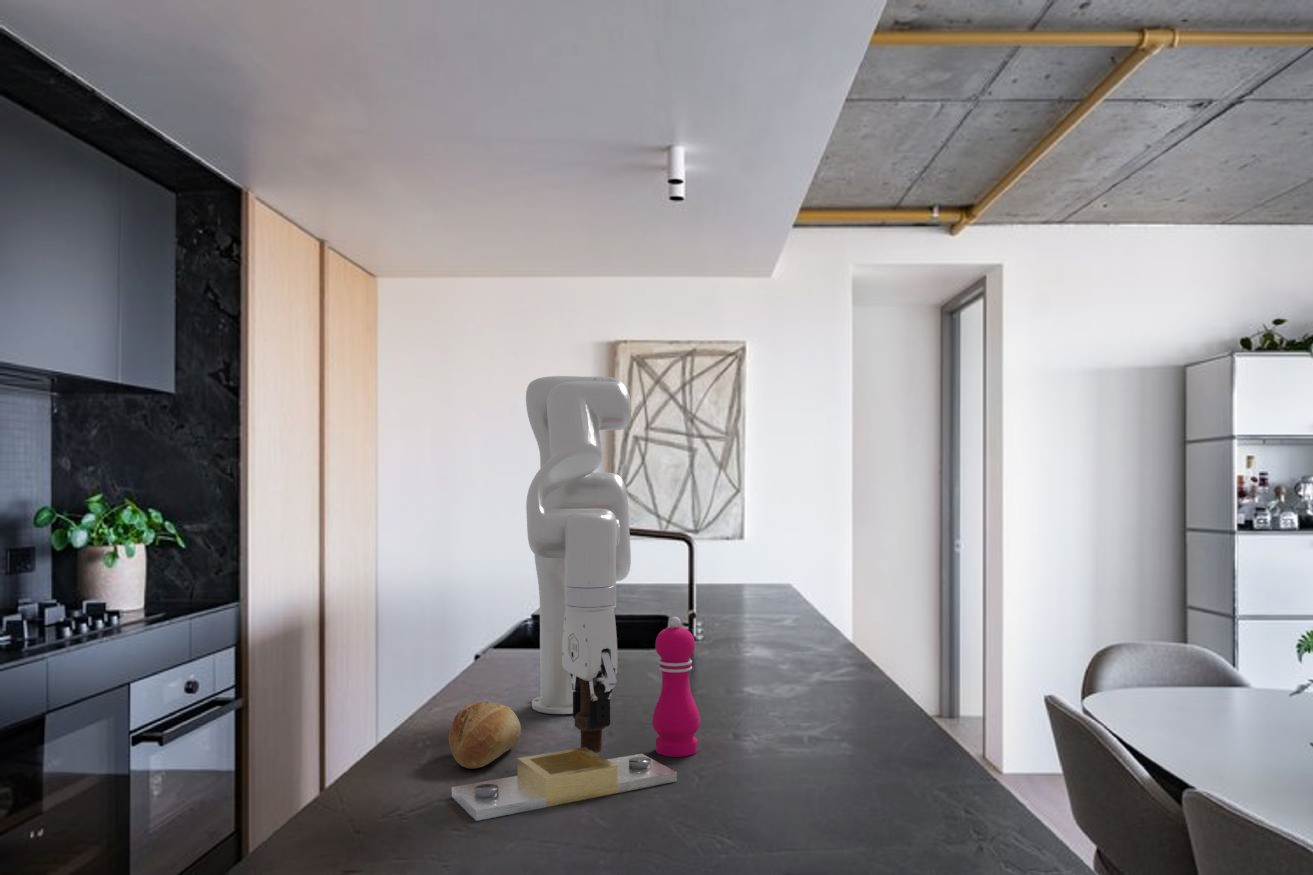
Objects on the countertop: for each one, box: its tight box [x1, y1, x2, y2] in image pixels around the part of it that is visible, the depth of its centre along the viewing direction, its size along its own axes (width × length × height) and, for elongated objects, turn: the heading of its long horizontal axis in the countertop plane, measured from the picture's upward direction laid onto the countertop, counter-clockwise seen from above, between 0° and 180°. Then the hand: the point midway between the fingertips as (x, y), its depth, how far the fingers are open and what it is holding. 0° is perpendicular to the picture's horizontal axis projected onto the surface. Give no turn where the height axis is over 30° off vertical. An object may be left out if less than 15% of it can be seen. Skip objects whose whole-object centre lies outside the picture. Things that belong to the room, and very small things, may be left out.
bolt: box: [572, 652, 606, 754], centre depth 134 cm, size 6×5×15 cm
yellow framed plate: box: [451, 746, 678, 822], centre depth 121 cm, size 10×28×4 cm, turn 119°
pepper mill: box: [651, 616, 701, 758], centre depth 138 cm, size 7×7×20 cm
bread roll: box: [448, 701, 522, 769], centre depth 135 cm, size 10×15×8 cm, turn 172°
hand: (591, 720), depth 134 cm, fingers closed on bolt, 4 cm apart
